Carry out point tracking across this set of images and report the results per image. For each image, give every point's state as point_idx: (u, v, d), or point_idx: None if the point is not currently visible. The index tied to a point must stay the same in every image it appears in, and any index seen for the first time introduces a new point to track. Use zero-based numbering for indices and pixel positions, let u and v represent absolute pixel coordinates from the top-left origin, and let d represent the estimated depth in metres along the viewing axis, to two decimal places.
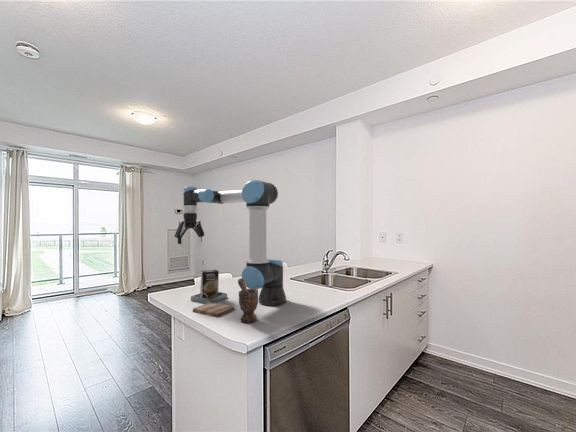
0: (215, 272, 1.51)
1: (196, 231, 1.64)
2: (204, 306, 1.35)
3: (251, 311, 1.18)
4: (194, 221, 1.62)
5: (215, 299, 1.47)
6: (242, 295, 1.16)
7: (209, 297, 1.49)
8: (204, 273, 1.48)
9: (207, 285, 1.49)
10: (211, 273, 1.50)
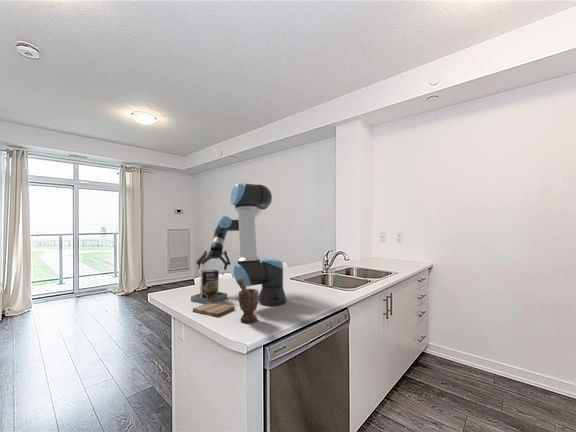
0: (215, 272, 1.51)
1: (221, 260, 1.66)
2: (204, 306, 1.35)
3: (251, 311, 1.18)
4: (219, 251, 1.70)
5: (215, 299, 1.47)
6: (242, 295, 1.16)
7: (209, 297, 1.49)
8: (204, 273, 1.48)
9: (207, 285, 1.49)
10: (211, 273, 1.50)
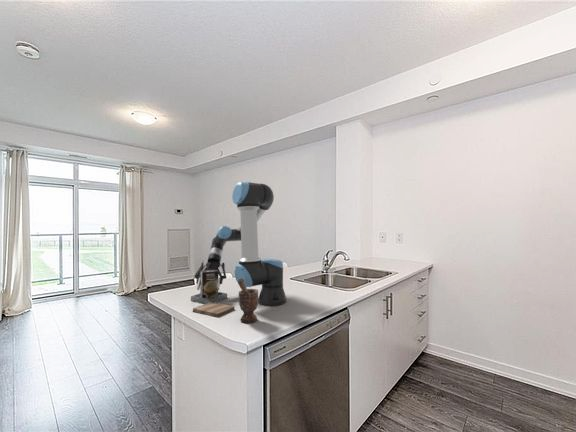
0: (215, 272, 1.51)
1: None
2: (204, 306, 1.35)
3: (251, 311, 1.18)
4: (216, 262, 1.61)
5: (215, 299, 1.47)
6: (242, 295, 1.16)
7: (209, 297, 1.49)
8: (204, 273, 1.48)
9: (207, 285, 1.49)
10: (211, 273, 1.50)
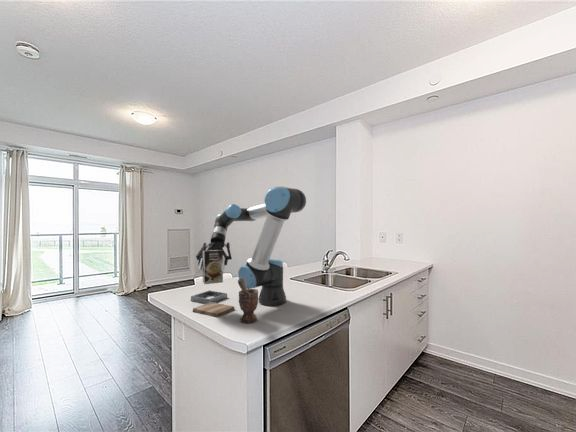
0: (219, 251, 1.34)
1: None
2: (204, 306, 1.35)
3: (251, 311, 1.18)
4: (220, 242, 1.44)
5: (215, 299, 1.47)
6: (242, 295, 1.16)
7: (212, 279, 1.32)
8: (206, 252, 1.31)
9: (210, 266, 1.32)
10: (214, 252, 1.33)
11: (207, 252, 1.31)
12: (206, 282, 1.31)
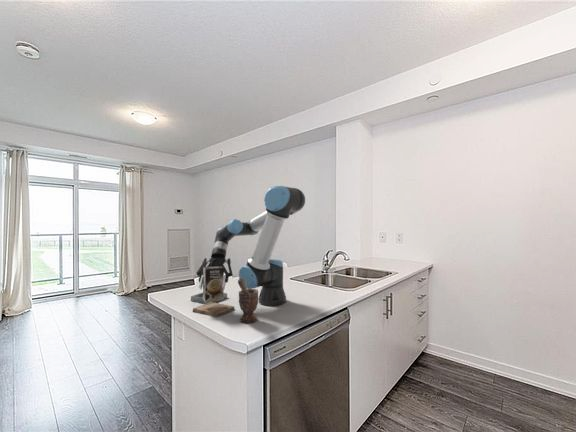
0: (220, 269, 1.33)
1: None
2: (204, 306, 1.35)
3: (251, 311, 1.18)
4: (221, 258, 1.42)
5: None
6: (242, 295, 1.16)
7: (213, 297, 1.31)
8: (207, 270, 1.30)
9: (211, 283, 1.30)
10: (215, 270, 1.31)
11: (208, 270, 1.30)
12: (206, 300, 1.29)
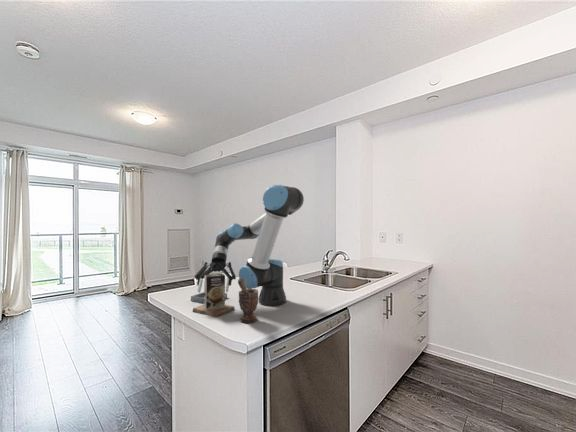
0: (221, 276, 1.32)
1: (225, 273, 1.38)
2: None
3: (251, 311, 1.18)
4: (222, 262, 1.42)
5: None
6: (242, 295, 1.16)
7: (214, 305, 1.30)
8: (209, 278, 1.29)
9: (212, 291, 1.30)
10: (217, 278, 1.31)
11: (209, 278, 1.29)
12: (208, 308, 1.29)
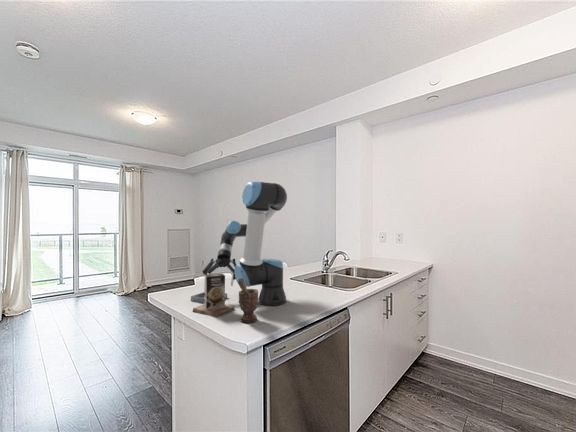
0: (221, 276, 1.32)
1: (230, 268, 1.51)
2: None
3: (251, 311, 1.18)
4: (226, 259, 1.55)
5: None
6: (242, 295, 1.16)
7: (214, 305, 1.30)
8: (209, 278, 1.29)
9: (212, 291, 1.30)
10: (217, 278, 1.31)
11: (209, 278, 1.29)
12: (208, 308, 1.29)
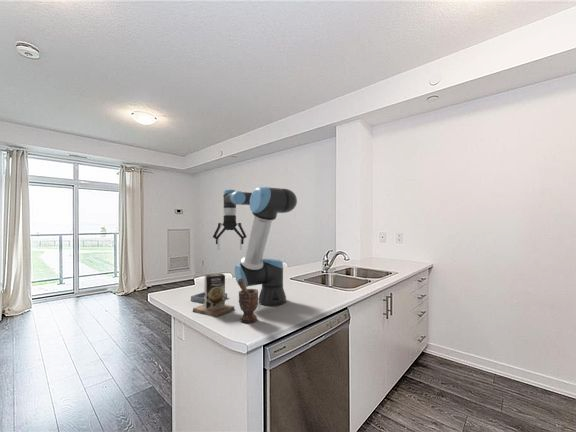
0: (221, 276, 1.32)
1: (237, 233, 1.65)
2: None
3: (251, 311, 1.18)
4: (233, 223, 1.64)
5: None
6: (242, 295, 1.16)
7: (214, 305, 1.30)
8: (209, 278, 1.29)
9: (212, 291, 1.30)
10: (217, 278, 1.31)
11: (209, 278, 1.29)
12: (208, 308, 1.29)
